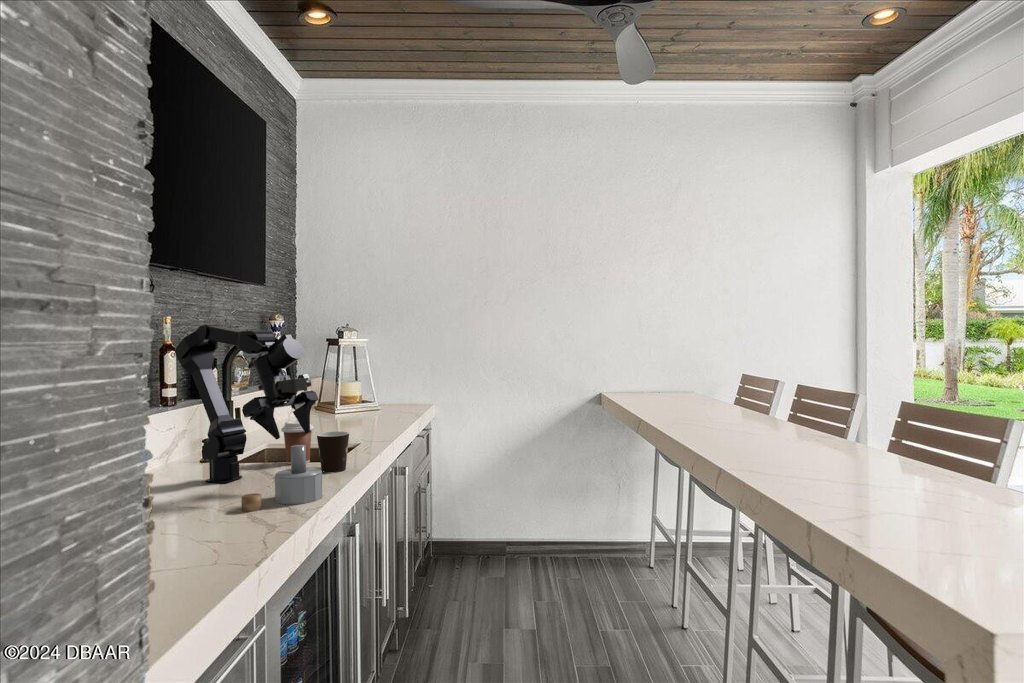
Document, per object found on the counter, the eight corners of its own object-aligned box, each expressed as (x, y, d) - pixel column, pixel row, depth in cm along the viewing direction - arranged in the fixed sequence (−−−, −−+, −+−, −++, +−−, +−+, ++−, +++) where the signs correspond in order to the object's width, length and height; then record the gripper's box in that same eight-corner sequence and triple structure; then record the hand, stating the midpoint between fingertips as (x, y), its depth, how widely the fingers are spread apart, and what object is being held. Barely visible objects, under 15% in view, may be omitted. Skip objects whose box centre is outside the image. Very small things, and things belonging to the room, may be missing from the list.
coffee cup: (315, 458, 189) (315, 419, 188) (312, 464, 180) (312, 423, 180) (284, 460, 187) (283, 420, 186) (279, 466, 178) (278, 424, 178)
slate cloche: (266, 503, 139) (265, 449, 139) (292, 491, 148) (291, 441, 148) (306, 505, 136) (305, 450, 136) (330, 493, 146) (329, 442, 146)
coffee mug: (340, 474, 167) (340, 436, 167) (311, 473, 169) (310, 436, 168) (359, 464, 178) (359, 430, 178) (332, 464, 180) (331, 429, 180)
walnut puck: (237, 511, 132) (237, 497, 132) (249, 506, 136) (249, 493, 136) (253, 512, 131) (253, 498, 131) (265, 507, 135) (265, 493, 135)
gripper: (260, 364, 141) (283, 427, 138) (321, 360, 157) (343, 417, 154) (231, 385, 145) (253, 447, 142) (293, 379, 162) (314, 434, 159)
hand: (293, 435), depth 149 cm, fingers open, 9 cm apart
